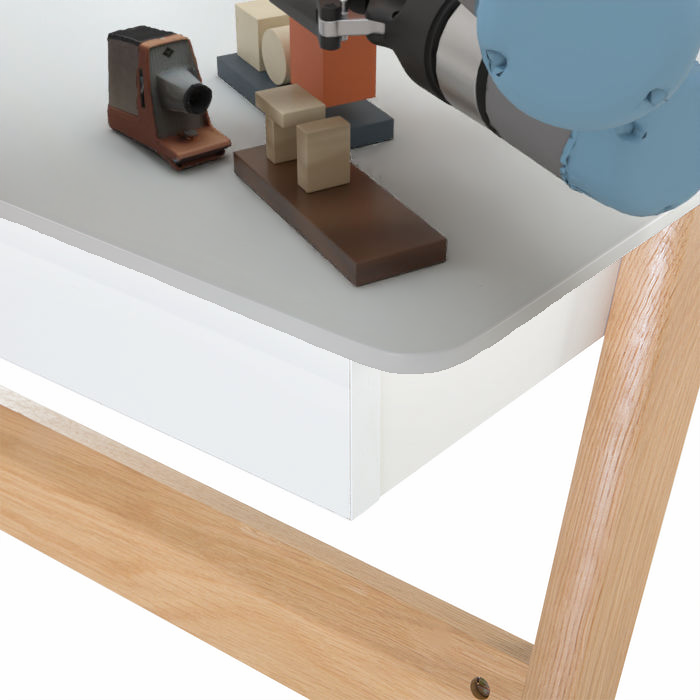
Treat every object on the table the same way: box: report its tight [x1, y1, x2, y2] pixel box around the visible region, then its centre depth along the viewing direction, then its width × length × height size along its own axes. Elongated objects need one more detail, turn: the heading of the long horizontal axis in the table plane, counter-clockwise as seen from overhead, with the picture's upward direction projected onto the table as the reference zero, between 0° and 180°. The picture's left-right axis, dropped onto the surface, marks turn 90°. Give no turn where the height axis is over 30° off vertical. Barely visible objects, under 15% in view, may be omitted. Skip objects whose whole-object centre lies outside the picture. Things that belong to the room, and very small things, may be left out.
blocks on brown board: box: [232, 84, 448, 287], centre depth 75 cm, size 16×6×6 cm, turn 29°
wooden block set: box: [216, 0, 395, 150], centre depth 88 cm, size 16×6×6 cm, turn 29°
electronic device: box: [106, 24, 233, 172], centre depth 82 cm, size 4×10×8 cm, turn 39°
